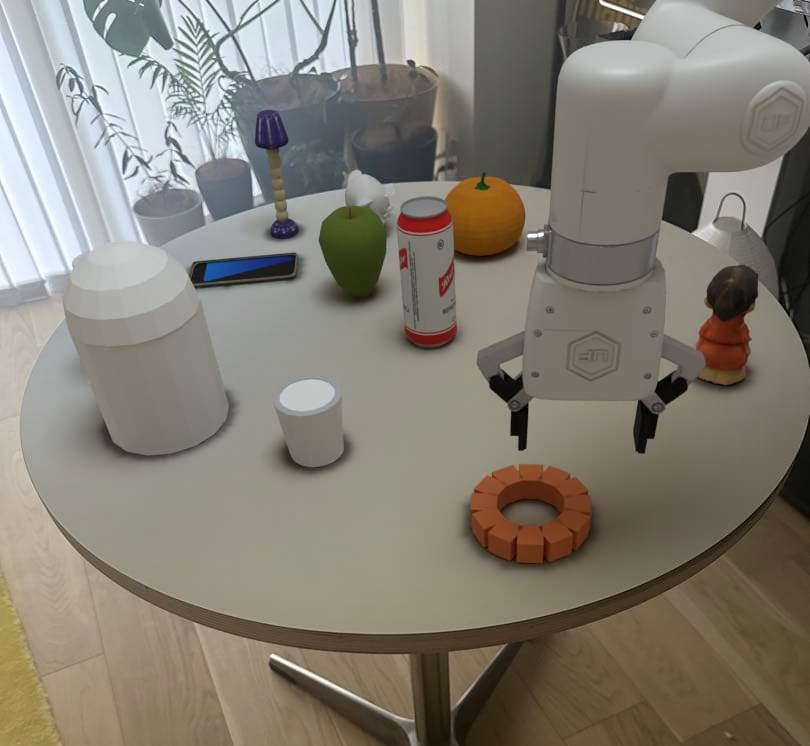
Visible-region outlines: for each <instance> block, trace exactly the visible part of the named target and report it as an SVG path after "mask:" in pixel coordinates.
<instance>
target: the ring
mask: <svg viewBox="0 0 810 746" xmlns="http://www.w3.org/2000/svg"><path fill="white" fill-rule="evenodd" d="M520 500H539V501H542V502H544V503H547V504H549V505H552V506H554V508H555V509H556V510H557V511H558V512H559V515H558V516H557V517H556V518H555V519H554V520H550V521H548V522H545V523H543V524H540V525H534V524H533V525H528V524H520V523H517V522H515V521H512V520H510V519H507V518H506V517H505V516H504V514H502V510H503V509H504V508H505V507H506V506H507V505H509V504H511V503H515V502H517V501H520ZM592 507H593V506H592V495H590V494H589V490H588V488H587V487H586V486H585V485H584V484H583V483H582V482H581V481H580V479H578V477H576V476H573V477H571V473H570V472H567V471H565V470H563V469H560V468H557V467H555V466H552V465H548V466H547V467H546V468H545V470H544V464H542V463H541V464H537V463H519V464H518V469H517V468H516V467H515V466H514V464H511V465H509V466H506V467H502V468H500V469H497V470H494V471H491V475H485V477H483V479H482V480H480V482H479V483H478V484H477V485H476V486H475V487H474V488H473V492H472V493H471V496H470V509H469V510H470V528H471V529H472V531H471V533H472V534H473V535H474V537H475V538H476V539H477V541H478V542H479V544H480V545H481V546H482V547H483V548H487V547H488V548H487V551H488V552H489V553H491V554H493V555H495V556H497V557H499V558H502V559H504V560H507V561H509V562H511V561H512V560H513V558H514V557H515V556H516V557H515V559H516V560H515V561H516V563H517V564H543V563H544V558H545V559H546V561H547V562H548V563H551V562H554V561H557V560H559V559H562V558H564V557H568V556H570V555H572V551H577V550H578V549H579V548H580V546H581V545H582V544H583V543H584V542H585V540H587V538H588V537H589V531H591V524H592V517H593V516H592V515H593V508H592Z"/></svg>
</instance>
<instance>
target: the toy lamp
mask: <svg viewBox="0 0 810 746" xmlns="http://www.w3.org/2000/svg"><path fill="white" fill-rule="evenodd" d="M284 125H285V124H284V122H283V120H282V117H281V115H280V113H279V112H278V110H275V109H264V110H261V111H259V112H257V114H256V121H255V133H254V145H255V146H256V147H257V148H259V149H262V150H265V151H266V154H267V163H268V166H269V175H270V178H271V180H270V183H271V188H272V196H273V199H274V208H275V210H276V211H275V216H276V217H275V218H276V220H275V221H274V222H273V223H271V226H270V230H269V231H270V236H272V237H273V238H276V239H287V238H291V237H294V236H296V235H298V233H299V232H300V227H299V226H298V224H297V223H296V221H295V220H293V219H292V218H289V212H288V210H287V209H288V204H287V200H286V197H287V196H286V190H285V187H284V186H285V181H284V178H283V169H282V166H281V164H282V161H281V157H280V149H281V148H283V147H285V146H287V145H288V143H289V135H288V133H287V130H286V128H285V126H284Z"/></svg>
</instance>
